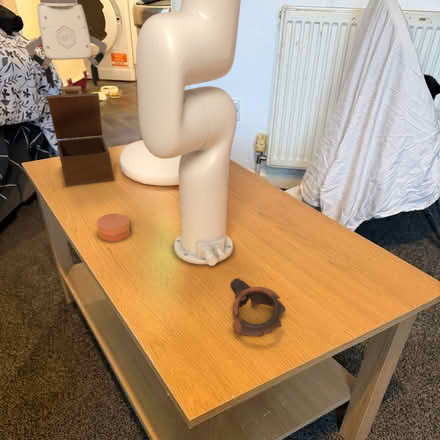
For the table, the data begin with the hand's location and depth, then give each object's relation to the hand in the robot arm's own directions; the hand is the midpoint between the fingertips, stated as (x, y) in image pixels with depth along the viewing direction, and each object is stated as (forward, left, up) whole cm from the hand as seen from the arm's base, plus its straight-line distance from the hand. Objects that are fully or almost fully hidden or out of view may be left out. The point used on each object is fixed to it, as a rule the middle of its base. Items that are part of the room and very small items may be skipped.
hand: (74, 85), depth 97 cm
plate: (+2, -21, -24) cm, 33 cm away
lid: (+9, +1, -10) cm, 14 cm away
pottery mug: (-65, -19, -24) cm, 72 cm away
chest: (+6, +1, -24) cm, 25 cm away
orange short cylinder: (-29, -1, -24) cm, 38 cm away
